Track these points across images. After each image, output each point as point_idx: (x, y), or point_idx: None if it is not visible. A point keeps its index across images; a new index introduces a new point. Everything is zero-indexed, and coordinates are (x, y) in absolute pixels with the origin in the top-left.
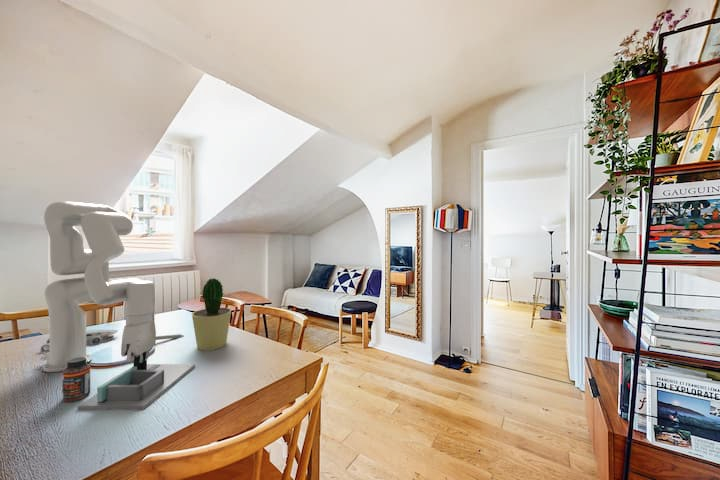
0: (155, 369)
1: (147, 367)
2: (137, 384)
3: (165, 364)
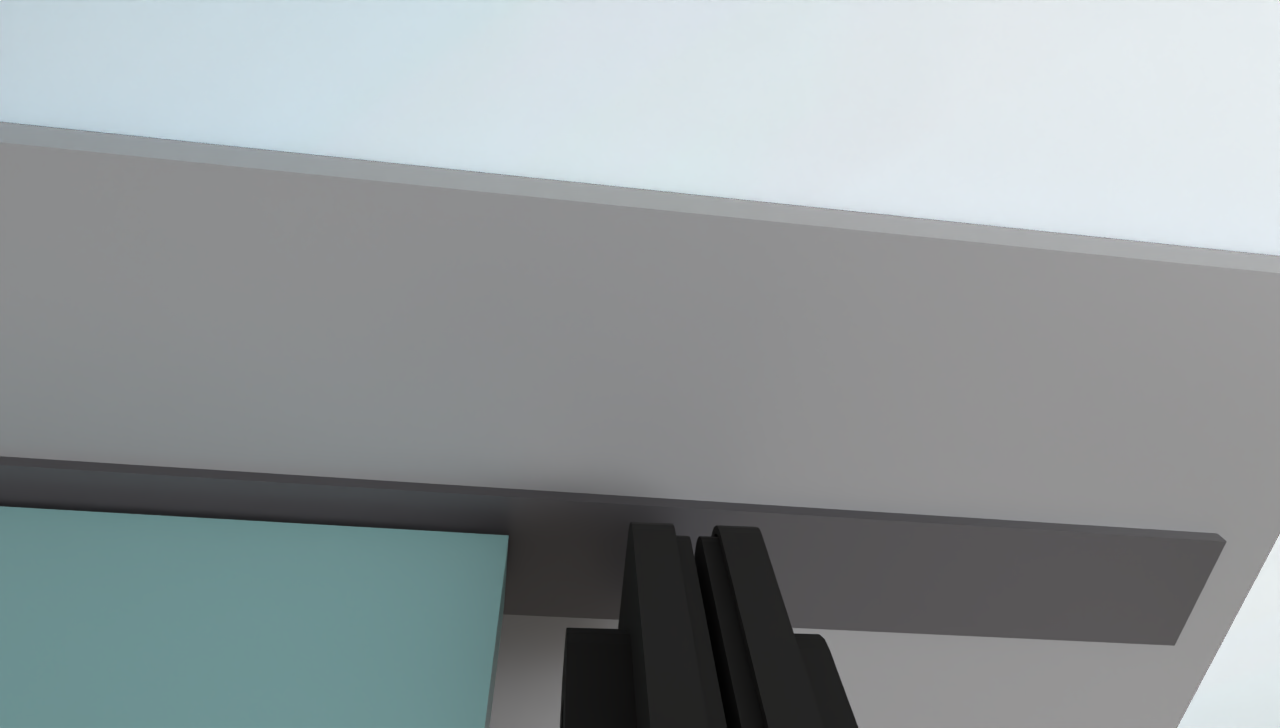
0: (966, 656)
1: (1142, 453)
2: None
3: (1169, 708)
